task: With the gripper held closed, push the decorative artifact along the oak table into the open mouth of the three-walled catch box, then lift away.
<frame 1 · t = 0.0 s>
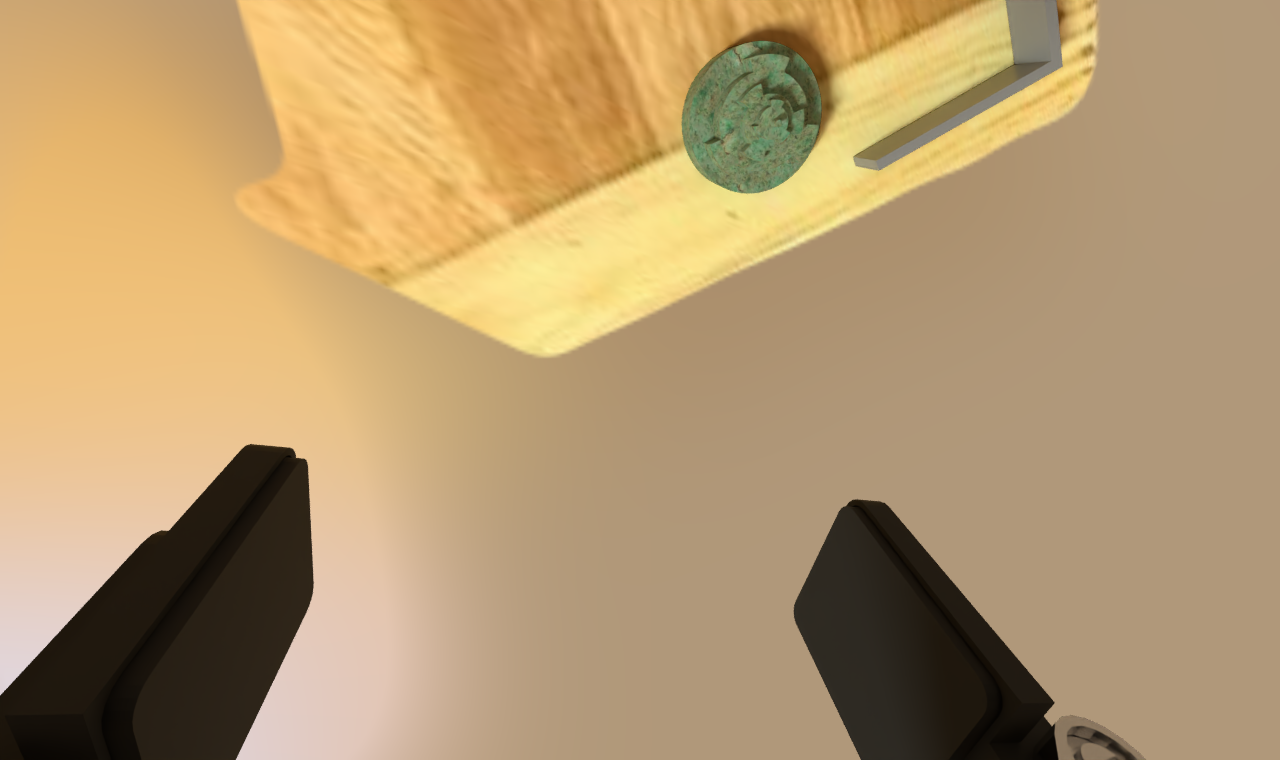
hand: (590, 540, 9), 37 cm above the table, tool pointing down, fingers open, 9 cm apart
decorative artifact: (743, 120, 41), on the table
catch box: (916, 8, 39), on the table
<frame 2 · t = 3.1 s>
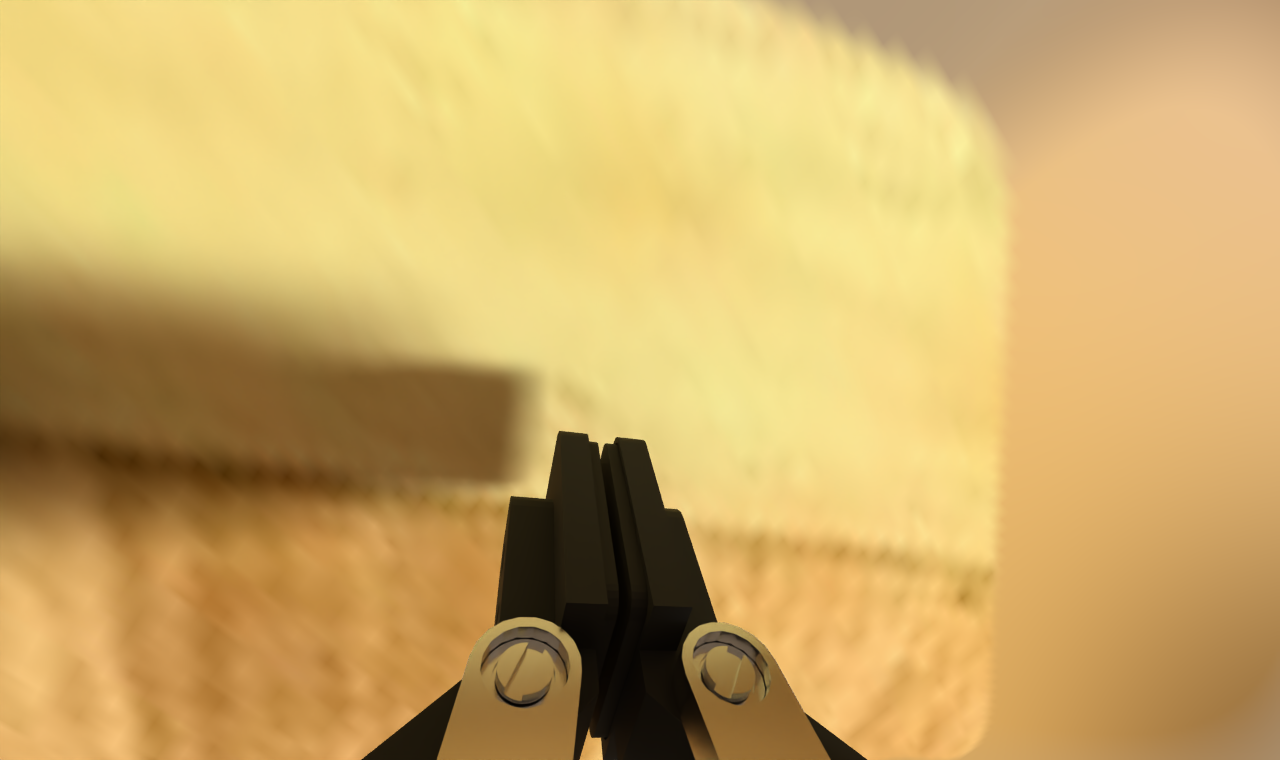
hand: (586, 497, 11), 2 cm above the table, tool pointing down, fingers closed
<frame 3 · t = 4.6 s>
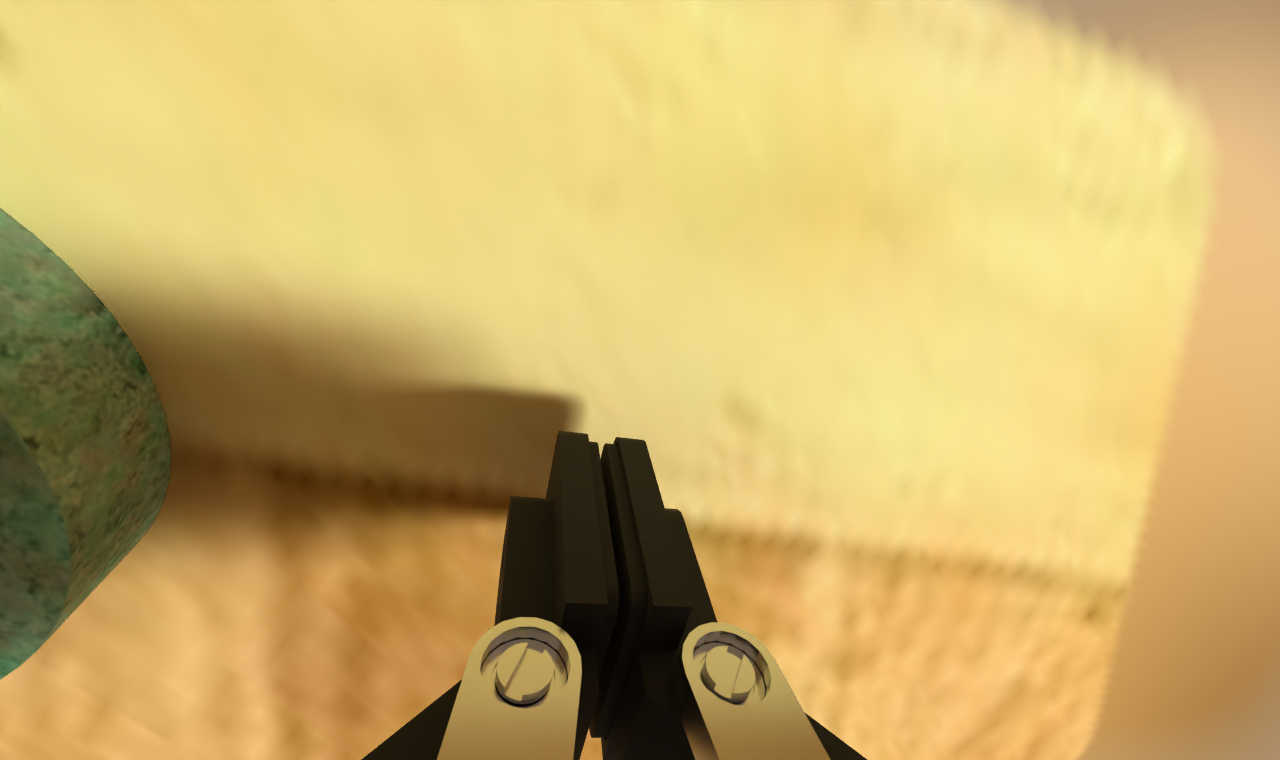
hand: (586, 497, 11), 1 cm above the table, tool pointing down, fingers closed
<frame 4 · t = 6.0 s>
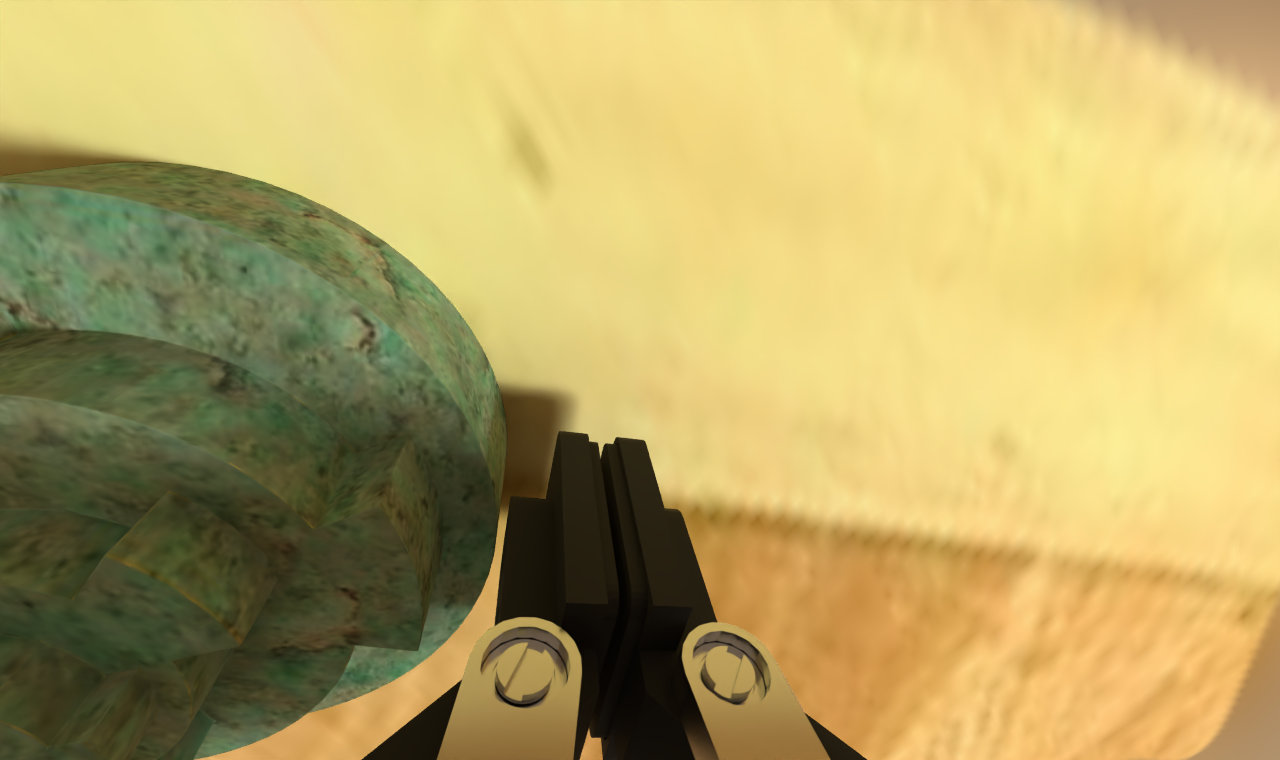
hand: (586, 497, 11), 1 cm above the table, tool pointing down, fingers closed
decorative artifact: (251, 429, 11), on the table
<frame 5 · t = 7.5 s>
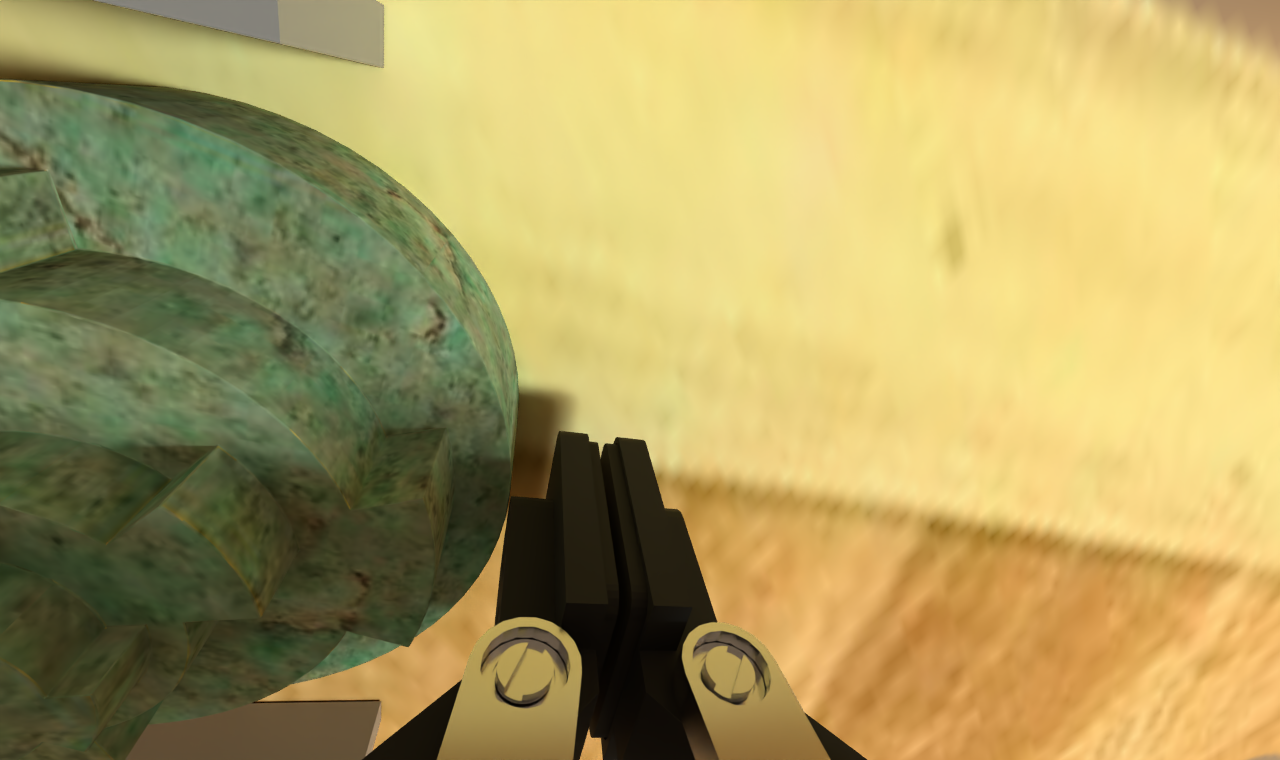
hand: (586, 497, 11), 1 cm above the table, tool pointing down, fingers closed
decorative artifact: (252, 384, 10), on the table, touching gripper
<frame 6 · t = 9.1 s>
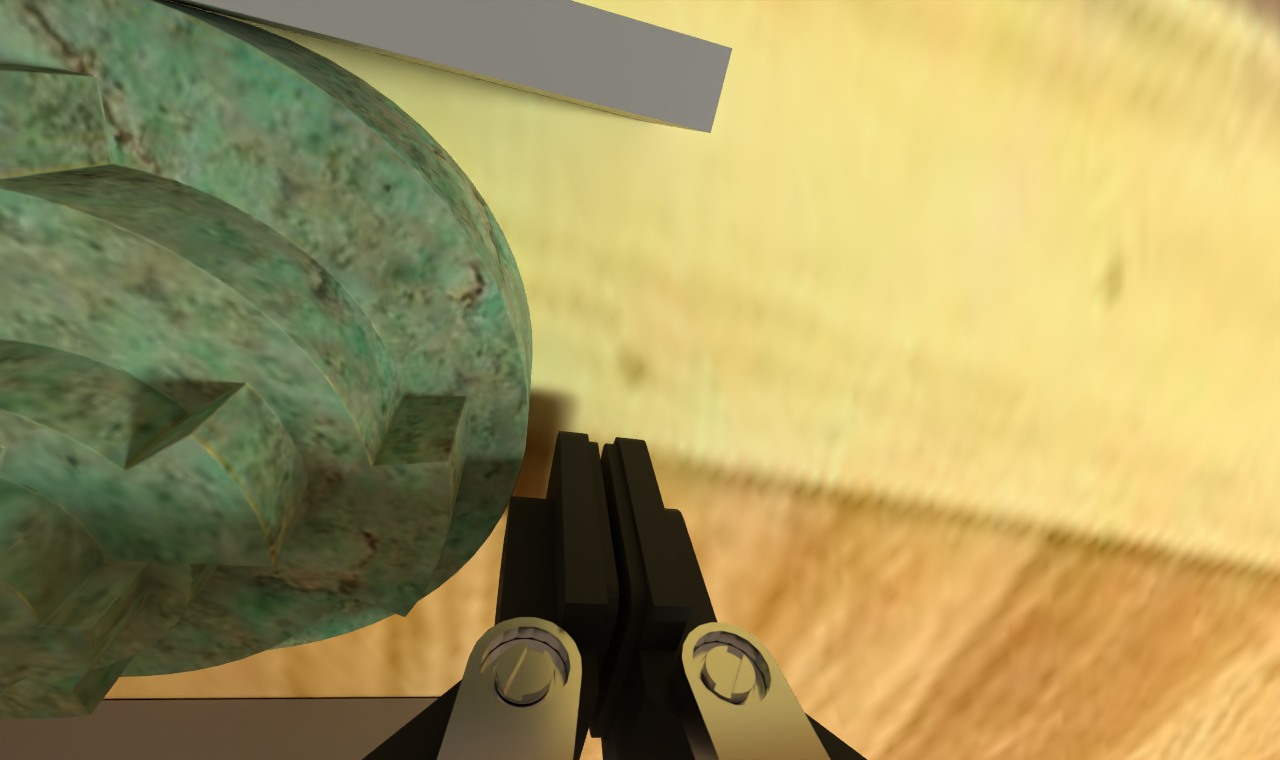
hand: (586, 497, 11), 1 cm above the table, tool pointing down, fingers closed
decorative artifact: (256, 334, 10), on the table
catch box: (194, 452, 10), on the table
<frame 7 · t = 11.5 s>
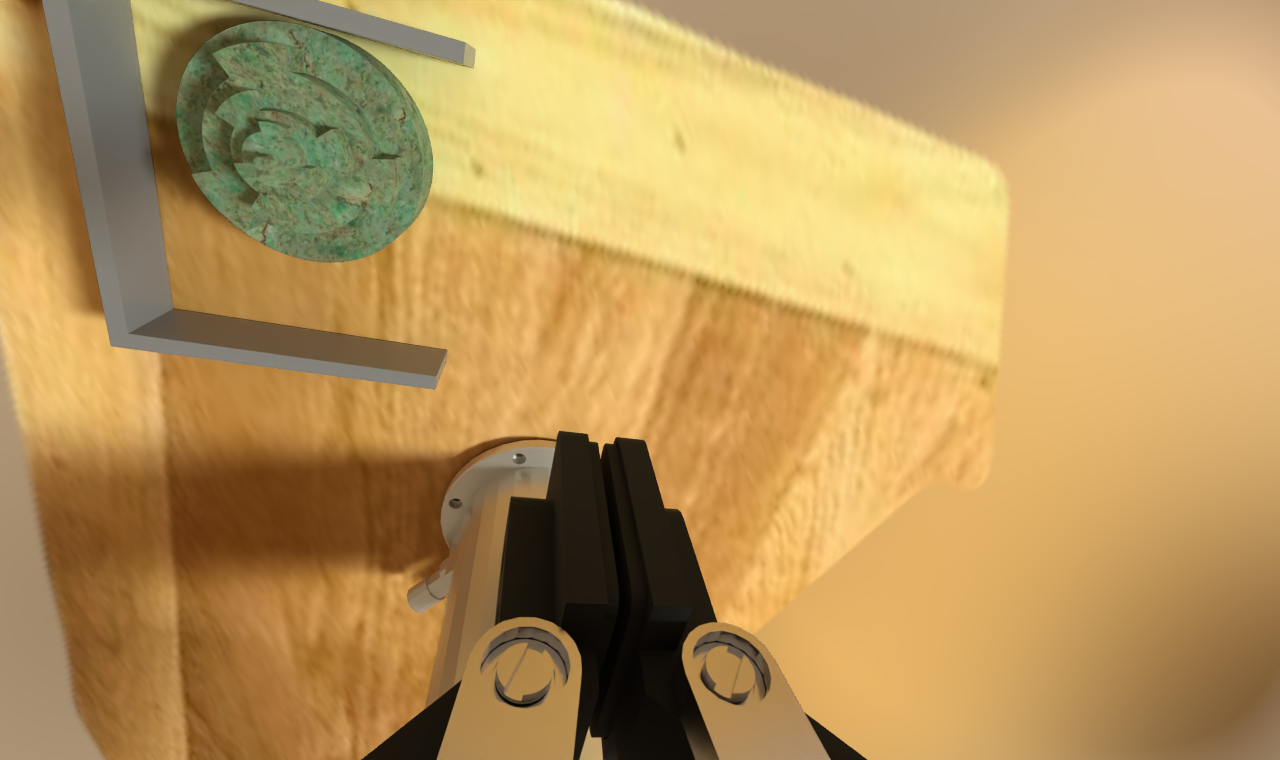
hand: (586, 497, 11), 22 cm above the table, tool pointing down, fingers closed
decorative artifact: (328, 148, 27), on the table
catch box: (306, 193, 27), on the table
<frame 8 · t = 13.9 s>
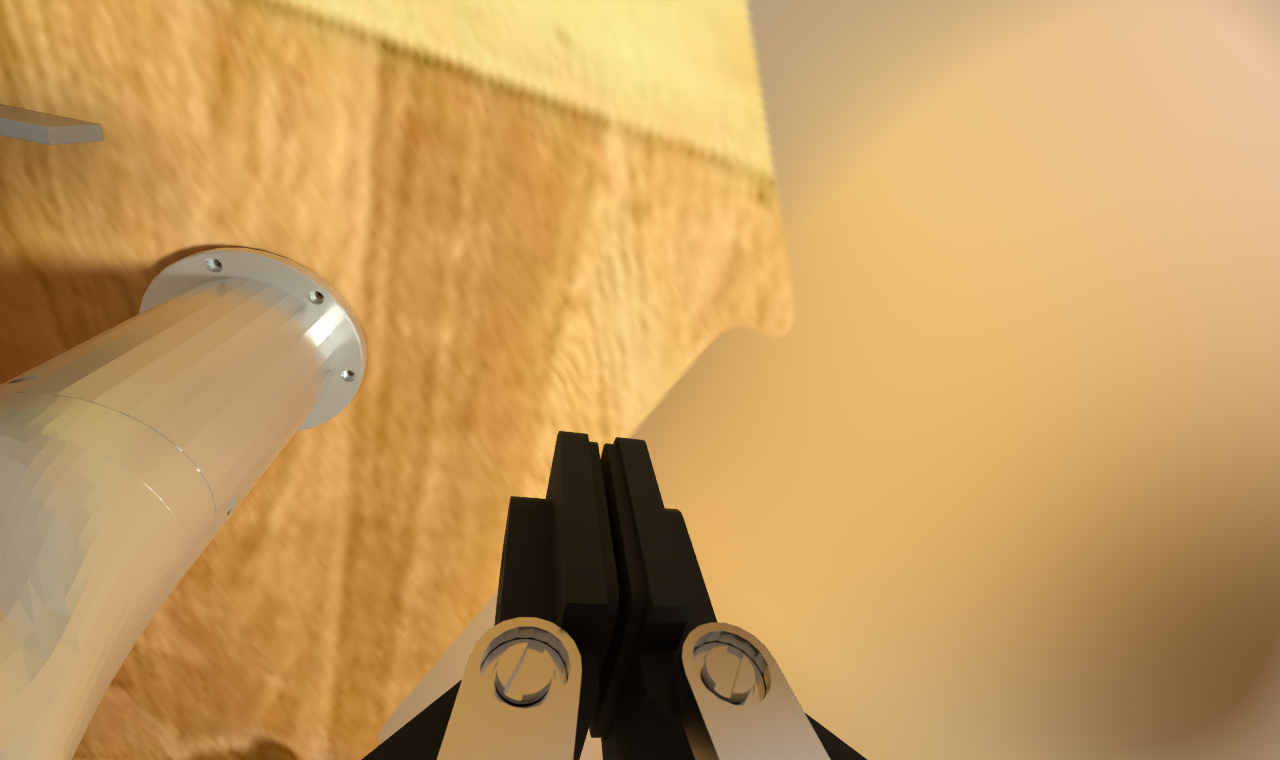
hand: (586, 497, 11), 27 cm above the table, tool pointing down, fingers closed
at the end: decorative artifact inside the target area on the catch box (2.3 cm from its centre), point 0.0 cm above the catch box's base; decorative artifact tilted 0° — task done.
